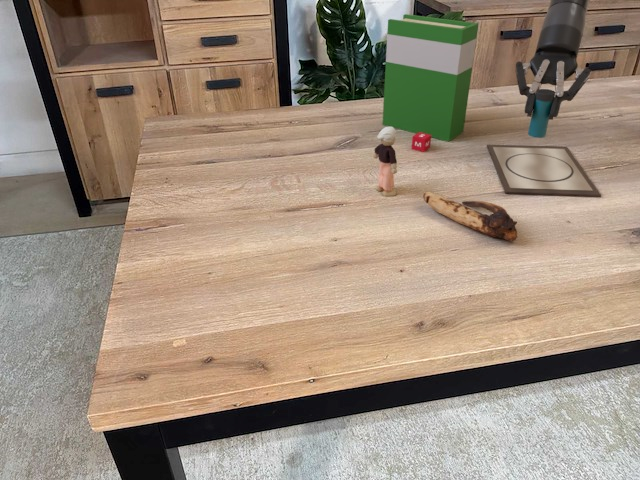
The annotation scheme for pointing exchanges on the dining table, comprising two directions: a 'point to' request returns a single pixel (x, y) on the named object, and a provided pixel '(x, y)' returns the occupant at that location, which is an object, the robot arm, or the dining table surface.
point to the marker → (541, 113)
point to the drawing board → (540, 171)
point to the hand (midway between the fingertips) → (540, 116)
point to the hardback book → (428, 75)
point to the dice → (421, 142)
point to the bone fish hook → (475, 216)
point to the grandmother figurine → (386, 161)
